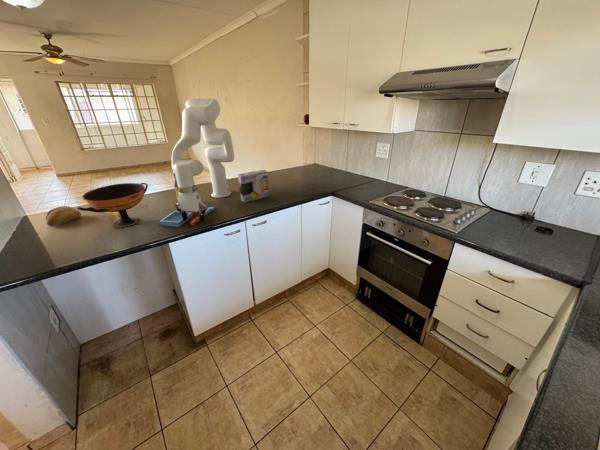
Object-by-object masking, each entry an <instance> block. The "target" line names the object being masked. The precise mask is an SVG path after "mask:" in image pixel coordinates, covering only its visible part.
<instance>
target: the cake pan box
mask: <svg viewBox="0 0 600 450" xmlns="http://www.w3.org/2000/svg"><path fill="white" fill-rule="evenodd" d="M268 174H269V173H268V170H266V169H260V170H253V171H249V172H243V173H238V174H237V178H238V179H237V180H238V185H239V186H238V190H239V196H240V201H241V202H242V203H244V204H245V203H248V202H253V201H257V200H261V199H265V198H269V197H270V189H269V175H268Z"/></svg>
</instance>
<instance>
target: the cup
mask: <svg viewBox="0 0 600 450" xmlns="http://www.w3.org/2000/svg"><path fill="white" fill-rule="evenodd" d="M148 188H149V185H148V184H147V182H141V183H138V182H137V183H136V182H125V183H124V182H123V183H115V184H108V185H103V186H101V187H97V188H94V189H91V190H89V191H87V192H85V193H84V194H82V200H84V202H86V203H87V204H88V205H89V207H81V206H78V207H76V209H77V210H78V211H82V212H91V213H118V214H119V217H120V219H119V220H117V221H116V222H115V223H114V226H115V227H117V228H127V227H131V226H133V225H135V224H137V223H138V221H139V218H137V217H130V216H129V215H128V212H127V210H130V209H132V208H134V207H136V206H137V205H139V204H140V203H141V202H142V200H143V198H144V196H145V194H146V192H147V190H148Z"/></svg>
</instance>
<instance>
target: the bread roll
mask: <svg viewBox="0 0 600 450" xmlns="http://www.w3.org/2000/svg"><path fill="white" fill-rule="evenodd" d="M81 217H82V213H81V210H79V209H77V208H75V207H73V206H70V205H63V206H58V207H54V208H52V209H50V210H49V211H48V212H47V213H46V216H45V221H46V225H47V226H49V227H56V226H59V225H63V224H65V223H68V222H71V221H74V220H77V219H80V218H81Z"/></svg>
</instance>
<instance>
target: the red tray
mask: <svg viewBox="0 0 600 450" xmlns="http://www.w3.org/2000/svg"><path fill="white" fill-rule="evenodd" d="M202 204H204V205H206V203H205V202H202ZM203 209H204V208H202V210H203ZM175 211H178V210H177V209H176V210H175ZM185 212H191V211H185ZM192 214H193V216H195V215H197V214H199V213H198V212H192Z"/></svg>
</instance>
